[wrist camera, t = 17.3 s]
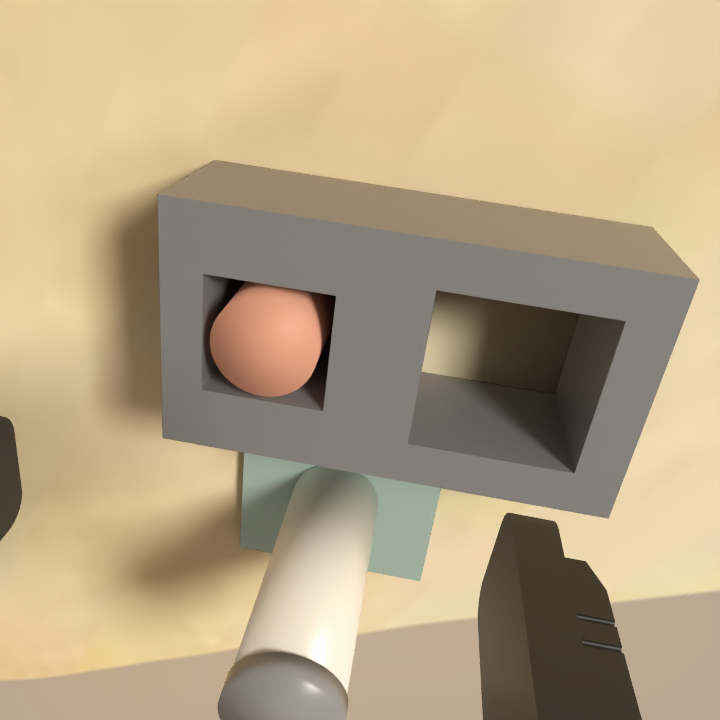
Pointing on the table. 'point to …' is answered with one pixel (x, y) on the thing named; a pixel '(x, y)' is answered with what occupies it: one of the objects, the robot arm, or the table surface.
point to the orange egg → (271, 337)
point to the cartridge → (307, 605)
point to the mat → (393, 522)
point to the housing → (417, 332)
